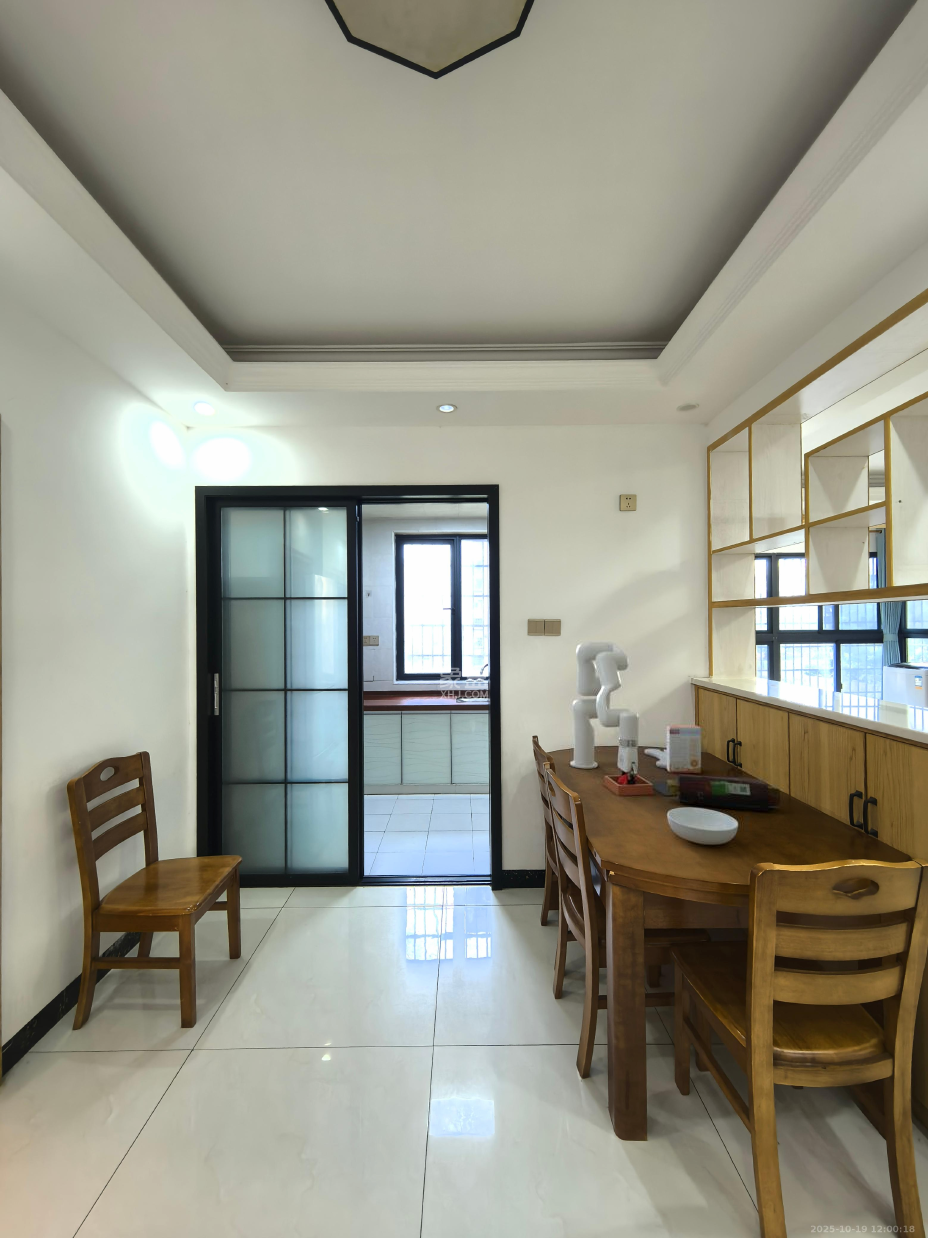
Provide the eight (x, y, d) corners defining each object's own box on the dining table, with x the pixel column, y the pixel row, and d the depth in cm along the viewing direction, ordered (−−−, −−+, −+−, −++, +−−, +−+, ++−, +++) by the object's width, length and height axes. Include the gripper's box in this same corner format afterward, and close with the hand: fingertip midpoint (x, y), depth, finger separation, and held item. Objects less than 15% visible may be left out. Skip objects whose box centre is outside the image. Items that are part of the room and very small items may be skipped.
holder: (658, 769, 274) (659, 758, 274) (642, 752, 308) (643, 742, 308) (701, 770, 272) (701, 759, 272) (680, 753, 306) (680, 743, 306)
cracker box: (697, 770, 272) (697, 725, 272) (701, 774, 266) (701, 727, 266) (665, 769, 273) (666, 724, 273) (669, 772, 267) (669, 726, 267)
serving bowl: (702, 857, 174) (702, 833, 174) (653, 832, 193) (653, 811, 193) (753, 846, 182) (753, 824, 182) (701, 824, 201) (701, 804, 201)
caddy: (604, 785, 247) (604, 775, 247) (637, 784, 249) (637, 774, 249) (618, 795, 232) (618, 785, 232) (653, 794, 234) (653, 784, 234)
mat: (645, 783, 250) (645, 782, 250) (676, 782, 252) (676, 781, 252) (665, 796, 232) (665, 795, 232) (698, 795, 234) (698, 794, 234)
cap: (620, 790, 238) (620, 775, 238) (616, 786, 244) (616, 771, 244) (640, 791, 238) (640, 776, 238) (636, 786, 244) (636, 772, 244)
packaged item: (668, 804, 222) (668, 778, 222) (665, 797, 231) (666, 771, 231) (782, 814, 212) (783, 786, 212) (775, 805, 222) (775, 779, 222)
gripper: (611, 738, 249) (610, 781, 249) (628, 747, 232) (627, 793, 232) (628, 738, 250) (627, 780, 250) (646, 747, 233) (645, 793, 233)
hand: (627, 786), depth 241 cm, fingers closed on cap, 5 cm apart
